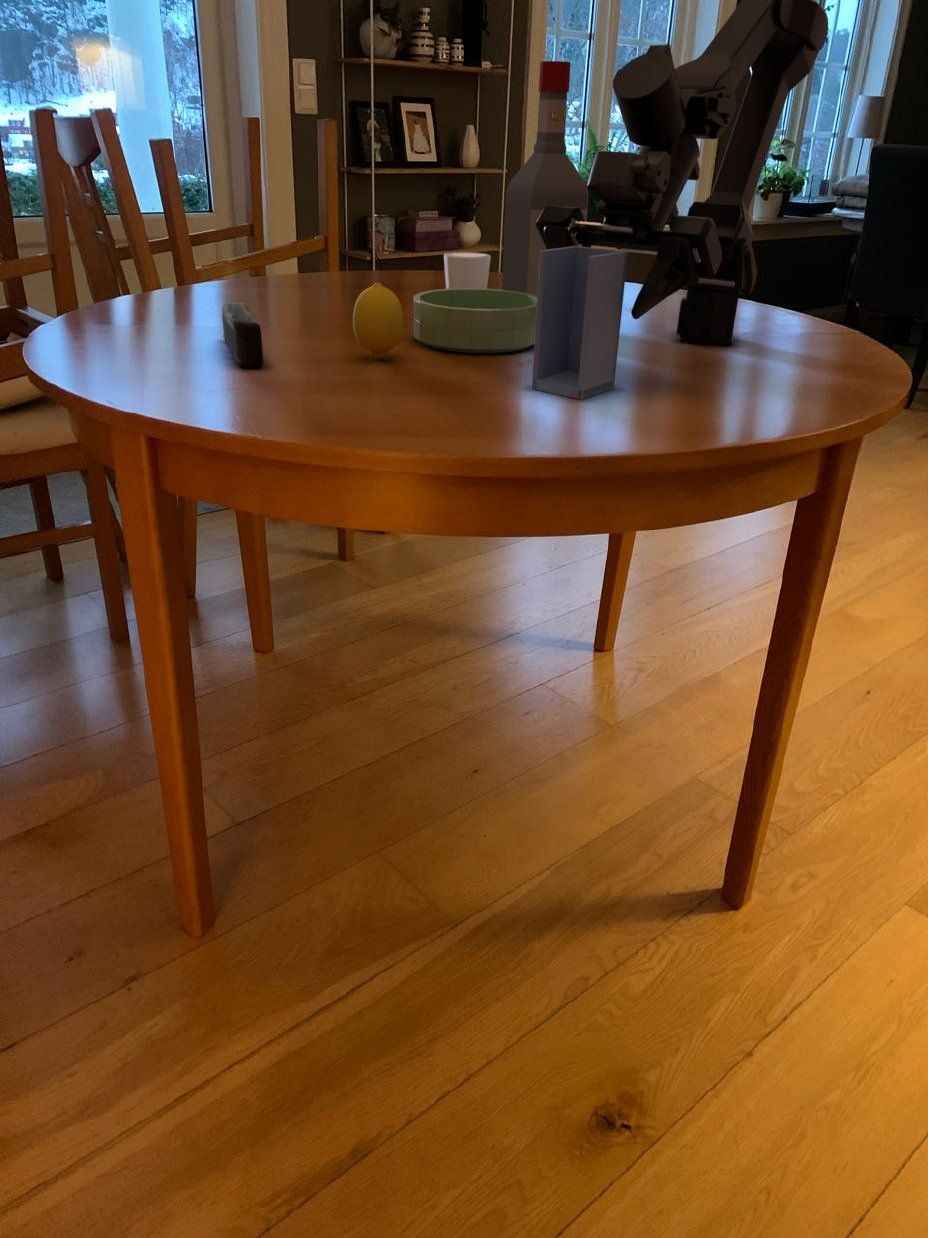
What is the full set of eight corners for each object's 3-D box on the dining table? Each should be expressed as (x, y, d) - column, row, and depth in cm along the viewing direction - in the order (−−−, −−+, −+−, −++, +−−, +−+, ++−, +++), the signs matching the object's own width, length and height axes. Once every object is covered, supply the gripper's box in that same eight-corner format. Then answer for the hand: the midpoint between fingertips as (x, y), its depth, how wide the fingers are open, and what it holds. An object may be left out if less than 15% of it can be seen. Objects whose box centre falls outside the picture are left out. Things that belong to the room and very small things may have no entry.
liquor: (587, 326, 120) (610, 62, 105) (533, 332, 115) (549, 57, 101) (544, 315, 126) (560, 65, 112) (492, 320, 122) (501, 61, 107)
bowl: (551, 334, 115) (554, 293, 112) (526, 359, 101) (528, 314, 99) (435, 324, 118) (435, 284, 116) (395, 348, 105) (395, 303, 103)
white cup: (484, 310, 128) (486, 258, 125) (438, 307, 130) (438, 255, 126) (492, 302, 134) (494, 252, 131) (448, 299, 135) (449, 250, 132)
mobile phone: (265, 321, 93) (239, 294, 105) (235, 323, 92) (213, 295, 104) (268, 370, 95) (243, 338, 107) (239, 372, 94) (217, 339, 106)
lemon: (384, 365, 97) (382, 288, 93) (344, 358, 100) (341, 282, 96) (413, 356, 101) (413, 282, 98) (374, 350, 104) (372, 277, 100)
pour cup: (564, 378, 94) (575, 245, 88) (613, 388, 91) (628, 251, 85) (531, 388, 90) (540, 250, 84) (581, 399, 87) (594, 256, 81)
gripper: (551, 115, 89) (483, 244, 87) (730, 119, 80) (660, 263, 77) (584, 199, 98) (523, 317, 96) (747, 211, 89) (685, 342, 86)
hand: (591, 310), depth 89 cm, fingers open, 9 cm apart
